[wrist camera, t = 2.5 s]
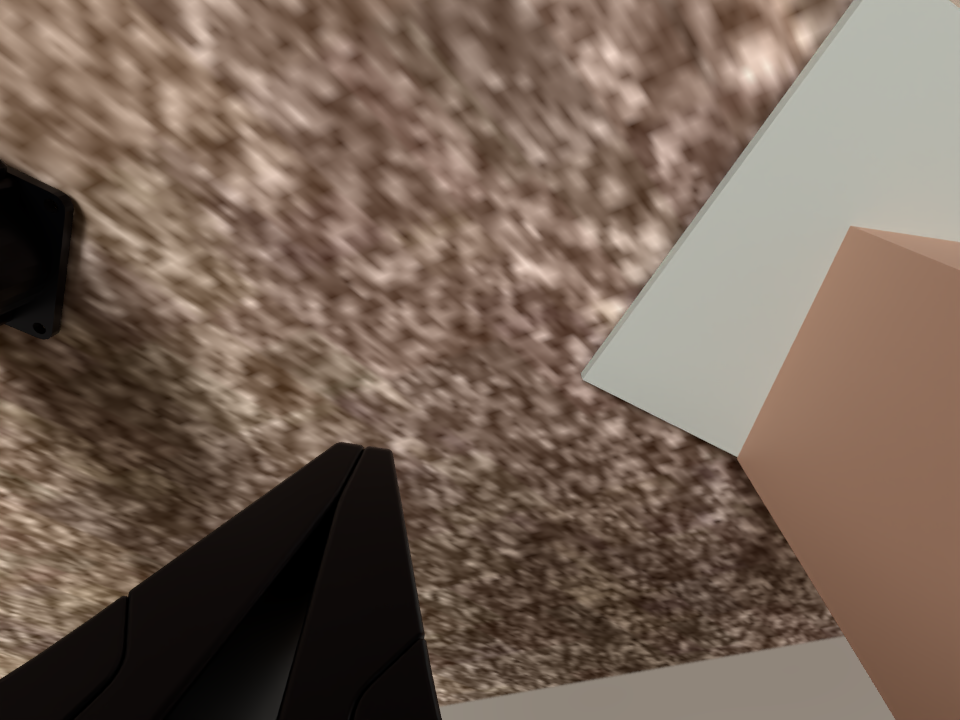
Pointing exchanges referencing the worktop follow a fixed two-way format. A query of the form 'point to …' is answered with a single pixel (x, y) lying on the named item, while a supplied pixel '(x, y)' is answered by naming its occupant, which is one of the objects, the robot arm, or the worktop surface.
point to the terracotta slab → (876, 461)
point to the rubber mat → (796, 218)
